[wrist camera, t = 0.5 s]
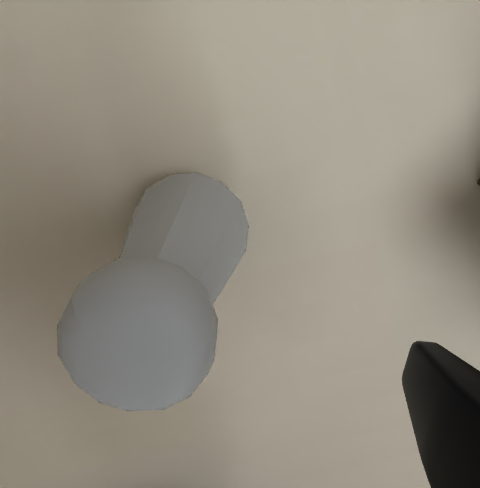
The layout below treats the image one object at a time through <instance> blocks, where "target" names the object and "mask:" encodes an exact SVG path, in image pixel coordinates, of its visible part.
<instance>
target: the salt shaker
mask: <svg viewBox="0 0 480 488" xmlns="http://www.w3.org/2000/svg"><path fill="white" fill-rule="evenodd" d="M248 228H249V225H248V222H247V219H246V216H245V213H244V209H243V206H242V203H241V201H240V200H239V199H238V198H237V197H236V196H235V195H234V194H233V193H232V192H231V191H230V190H229V189H228V188H227V187H226V186H225V185H224V184H223V183H222V182H221V181H218V180H215V179H213V178H210V177H208V176H205V175H203V174H200V173H197V172H195V173H186V174H176V175H168V176H167V177H165V178H164V179H162V180H160V181H159V182H157V183H155V184H154V185H152V186H151V187H149V188H147V189H146V191H145V192H144V194H143V196H142V198H141V199H140V201H139V203H138V205H137V207H136V208H135V210H134V212H133V216H132V219H131V222H130V225H129V228H128V232H127V235H126V238H125V241H124V245H123V248H122V251H121V254H120V257H119V259H117V260H114V261H113V262H111V263H109V264H107V265H106V266H104V267H102V268H100V269H99V270H97V271H95V272H94V273H92V274H90V275H89V276H87V277H86V278H85V279H84V280H83V281H82V282H81V283H80V284H79V285H78V286H77V288H76V290H75V292H74V294H73V296H72V298H71V299H70V301H69V303H68V305H67V307H66V309H65V310H64V312H63V314H62V316H61V318H60V320H59V323H58V325H57V341H58V356H59V358H60V359H61V361H62V363H63V365H64V366H65V368H66V370H67V371H68V373H69V375H70V376H71V378H72V380H73V382H74V383H75V384H76V385H77V386H78V387H80V388H81V389H82V390H84V391H85V392H86V393H88V394H89V395H90V396H91V397H93V398H94V399H95V400H97V401H98V402H99V403H102V404H105V405H109V406H112V407H115V408H119V409H122V410H126V411H143V410H163V409H165V408H167V407H169V406H171V405H173V404H175V403H177V402H179V401H181V400H183V399H185V398H187V397H189V396H191V395H192V393H193V392H194V391H195V389H196V388H197V387H198V386H199V384H200V383H201V382H202V380H203V379H204V378H205V377H206V375H207V374H208V372H209V370H210V368H211V366H212V363H213V361H214V356H215V347H216V338H217V325H218V318H217V316H216V313H215V310H214V308H213V303H214V302H215V300H216V298H217V297H218V295H219V294H220V292H221V290H222V289H223V287H224V285H225V284H226V282H227V281H228V279H229V277H230V276H231V274H232V272H233V271H234V269H235V267H236V266H237V264H238V263H239V261H240V259H241V258H242V256H243V254H244V253H245V251H246V245H247V237H248Z"/></svg>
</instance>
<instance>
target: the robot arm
mask: <svg viewBox="0 0 480 488" xmlns="http://www.w3.org/2000/svg"><path fill="white" fill-rule="evenodd" d="M402 385H403V389H404V393H405V397H406V401H407V405H408V409H409V413H410V417H411V421H412V425H413V429H414V433H415V437H416V441H417V445H418V449H419V453H420V456H421V460H422V463H423V466H424V469H425V472H426V475H427V478H428V481H429V483H430V486H431V488H480V371H479V370H477V369H475V368H474V367H472V366H471V365H469V364H468V363H466V362H465V361H463V360H462V359H460V358H459V357H457V356H456V355H454V354H453V353H451V352H450V351H448V350H447V349H445V348H444V347H442V346H441V345H439V344H437V343H434V342H423V341H416V342H414V343H413V344H412V346H411V348H410V351H409V355H408V358H407V361H406V364H405V368H404V371H403V375H402Z"/></svg>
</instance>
